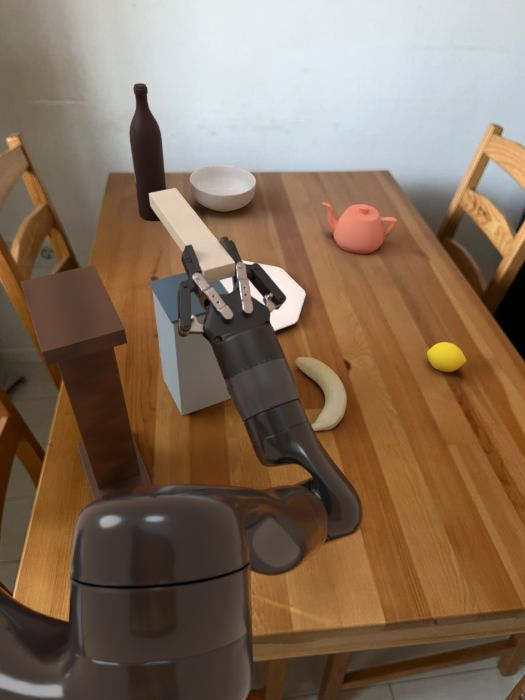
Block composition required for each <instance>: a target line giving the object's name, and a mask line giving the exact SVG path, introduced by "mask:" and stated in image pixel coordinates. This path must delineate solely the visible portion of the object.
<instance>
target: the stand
mask: <svg viewBox="0 0 525 700" xmlns="http://www.w3.org/2000/svg"><path fill="white" fill-rule="evenodd" d="M20 285H21V288H22V292H23V294H24V298H25V302H26V305H27V308H28V311H29V314H30V318H31V321H32V325H33V328H34V331H35V334H36V338H37V342H38V345H39V348H40V351H41V354H42V358H43V360H44V363H45V366H46V367H49V366H53V365H57V367H58V369H59V372H60V376H61V379H62V382H63V385H64V388H65V392H66V394H67V398H68V400H69V403H70V407H71V409H72V412H73V415H74V418H75V421H76V424H77V428H78V430H79V433H80V437H81V439H82V442H79V443H76V446H77V449H78V453H79V456H80V460H81V462H82V466H83V469H84V472H85V476H86V478H87V482H88V485H89V489H90V492H91V494H92V498H93V500H95V499H97V498H99V497H101V496H104V495H107V494H109V493H112V492H115V491H119V490H123V489H128V488H134V487H141V486H149V485H153V482H152V480H151V477H150V474H149V472H148V470H147V467H146V464H145V463H144V459H143V458H142V455H141V453H140V450H139V448H138V445H137V443H136V440H135V438H134V436H133V435H134V434H133V431H132V427H131V422H130V418H129V413H128V408H127V403H126V398H125V393H124V389H123V385H122V379H121V375H120V370H119V365H118V361H117V356H116V351H115V347H118V346H119V347H120V346H122V345H126V344H128V340H127V333H126V328H125V326H124V324H123V322H122V320H121V318H120V315H119V313H118V312H117V310H116V308H115V306H114V303H113V301H112V299H111V297H110V294H109V292H108V291H107V288H106V287H105V285H104V282H103V280H102V278H101V276H100V274H99V272H98V270H97V268H96V266H95V264H91V265H87V266H83V267H82V266H81V267H78V268H73V269H69V270H66V271H60V272H55V273H51V274H47V275H43V276H37V277H34V278H29V279H24V280H20Z"/></svg>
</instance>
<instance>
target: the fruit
mask: <svg viewBox="0 0 525 700" xmlns="http://www.w3.org/2000/svg"><path fill="white" fill-rule="evenodd" d="M294 364H295V365H296V366H297V368H298V369H299V370H300V371H301V372H302V373H304V374H305V375H306V376H307V377H309V378H310V379H312V380H313V381H314V382H315V383H316V384H317V385H318V386H319V387H320V388H321V390H322V392H323V395H324V405H323V407H322V409H321V411H320V413H319V415H318V416H317V418H316V420H315V421H314V422H313V423H311V425H312V428H313V430H314V432H318V431H330V430H332V429H334V428H336V426H337V425H338V424H339V423H341V421H342V419H343V418H344V415H345V412H346V409H347V401H348V397H347V392H346V389H345V386H344V384H343V382H342V380H341V378H340V377H339V376H338V375H337V374H336V372H335V371H334V370H333V369H332V368H330V367H329V365H327V364H325V363H324V362H322V361H321V360H319V359H317V358H314V357H310V356H298V357H297V358H296V359H295V360H294Z"/></svg>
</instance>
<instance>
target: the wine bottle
mask: <svg viewBox="0 0 525 700" xmlns="http://www.w3.org/2000/svg"><path fill="white" fill-rule="evenodd" d="M133 94H134V98H135V110H134V113H133V116H132V119H131V121H130V125H129V134H128V135H129V144H130V145H129V146H130V150H131V151H130V152H131V159H132V167H133V174H134V175H133V177H134V183H135V184H134V185H135V192H136V198H137V206H138V212H139V215H140V217H141V218H142V219H143V220H146V221H160V219H159V218H158V216H157V215H156V213H155V212H154V210H153V209H152V208H151V206H150V199H149V193H152V192H157V191H162V190H167V183H166V171H165V159H164V149H163V138H162V131H161V128H160V125H159V123H158V121H157V119H156V117H155V116H154V115H153V113H152V111H151V109H150V106H149V105H150V104H149V99H148V94H149V91H148V86H147V84H146V83H141V82H140V83H134V85H133Z"/></svg>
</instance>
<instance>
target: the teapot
mask: <svg viewBox="0 0 525 700" xmlns="http://www.w3.org/2000/svg"><path fill="white" fill-rule="evenodd" d="M321 205H323V206H324V207H325V208H326V211H327V226H328V227H329V229H330V230H331V231H332V232H333V233H332V234H333V239H334V242H335V243H336V244H337V246H338V247H339V248H341V249H342V250H344V251H346V252H348V253H353V254H358V255H359V254H361V255H366V254H371V253H373V252H375V251H376V250H378V249H379V248H380V247H381V245H382V244H383V243H384V238H385V237H386V236H388V235H389V234H390V233H391V232H392V231H394V230H395V229H396V227H397V225H398V223H399V221H398V219H397V218H396V217H391V216H384V217H383V216H381V215H380V212H379V210H378V209H376V208H375V207H374V206H371V205H368V204H366V203H362V204H361V203H357V204H356V203H355V204H352V205H350V206H348V207H347V208H346V209H345V211H343V213H342V214H341V215H340V216H339V218H338V219H337V218H336V217H335V216H334V208H333V206H332V205H331V204H330V203H329V202H325V201H321ZM384 222H385V223H389V226H388V227H387V229H386V230H385V227H384V226H385V225H384Z"/></svg>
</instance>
